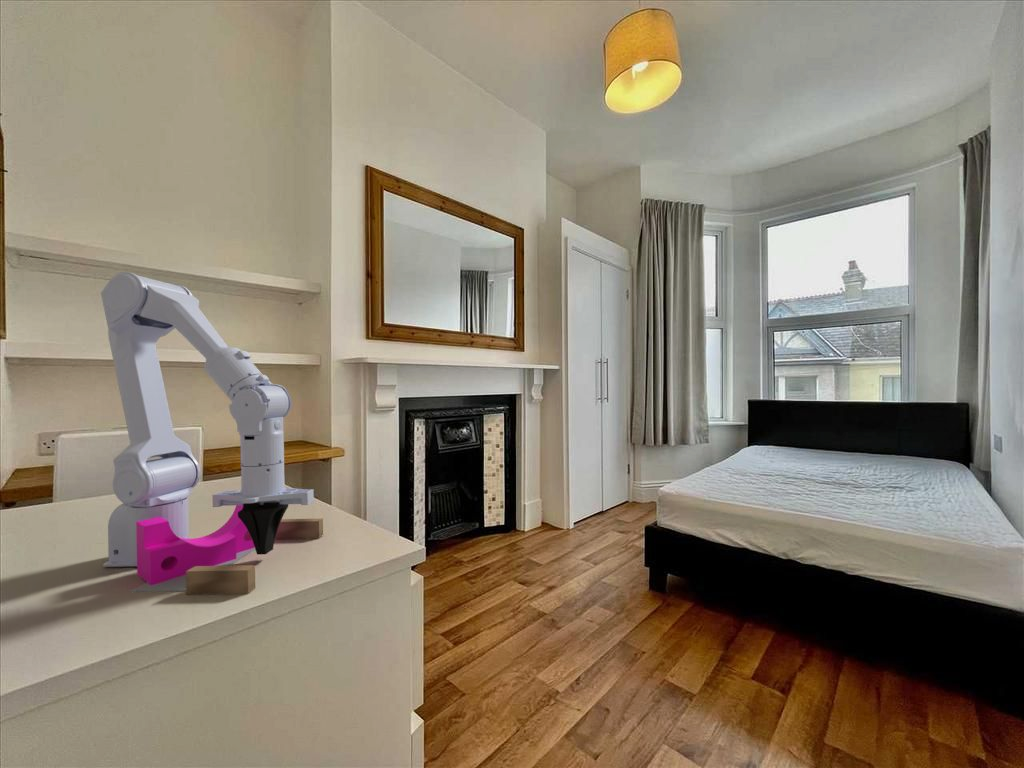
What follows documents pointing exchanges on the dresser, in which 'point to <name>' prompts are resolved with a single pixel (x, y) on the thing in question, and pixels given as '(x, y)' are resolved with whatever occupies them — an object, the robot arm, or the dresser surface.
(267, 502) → the robot arm
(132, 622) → the dresser surface
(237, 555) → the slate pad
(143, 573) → the toy block
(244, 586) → the pair of brown pieces
